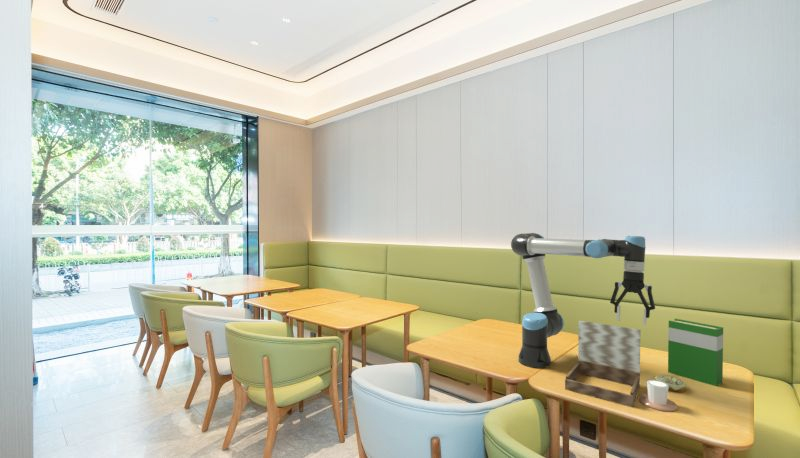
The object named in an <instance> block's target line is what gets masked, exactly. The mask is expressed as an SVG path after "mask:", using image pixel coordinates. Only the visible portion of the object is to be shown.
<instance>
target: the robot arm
mask: <svg viewBox="0 0 800 458" xmlns="http://www.w3.org/2000/svg"><path fill="white" fill-rule="evenodd" d="M510 247H511V249H512V252H513V253H514V254H515V255H518V256H522V261H524V262H525V263H526V266H527V272H528V275H529V281H530V286H531V290H532V294H533V295H532V296H533V300H534V304H535V305H534V306H535V307H534V309H533V312H529V313H525V314H524V315H523V316H522V322H521V326H522V327H521V328H522V330H521V333H522V334H521V336H522V339H521V344H522V346H521V348H520V349H519V350H520V351H519V353H518V362H519V363H520V364H521V365H524V366H527V367H530V368H537V369H539V368H540V369H543V368H548V367H550V366H551V365H552V359H551V355H550V353H549V350H548V349H549V348H548V338H550V337H552V336H556V335H558V334H559V333H560V332H561V331H562V330H563V328H564V325H565V321H564V318H563V316H562V315H561V314H560V313H559V312H558V311H559V310H558V308H557V306H555V305H554V303H553V299H552V295H551V289H550V284H549V281H548V280H549V279H548V276H547V271H546V267H545V262H544V259H545V257H546V255H556V256H568V257H569V256H571V257H572V256H573V257H587V258H593V259H602V258H606V257H619V258H620V257H622V258H623V259H624V260H623V261H624V263H623V270H624V271H623V276H622V277H623V278H622V279H623V280H622V281H621V282H619V281H616V282H614V289H613V292H612V295H611V299H610V301H609V303H610V304H612V305H613V306H614V313H615V314H616V322H620V321H621V305H620V303H621V302H622V301H623V300H624V298H625V296H627V293H633V294H637V296H639V299H640V300H641V303H642V305H643V306H644V308H645V309H643V317H642V318H643V319H642V322H643V323H642V326H643V327H646V326H647V319H649V318H650V315H651V311H652V310H653V311H654V310H656V304H655V301H654V295H653V292H652V290H653V286H652V285H647V284H645V283H644V281H645V280H644V279H645V273H644V271H645V264H646V263H645V257H646V248H647V247H646V238H645V236H639V235H626V236H625V238H624V239H607V238H599V239H597V240H596V239H574V238H573V239H572V238H570V239H569V238H568V239H567V238H545V237H544V236H543V235H541V234H539V233H536V232H528V233H519V234H515V236H514V237H513V238H512V239H511V241H510ZM621 286H622V287H623V291H622V292H621V294H620V295H619V297H618V298H617V296H618V292H619V291H620V287H621ZM644 288H645V290H646V293H647V297H648V300H649V303H648V302H647V299H646V298H645V296H644V294H643V291H642V290H643V289H644ZM616 299H617V300H616ZM649 304H650V305H649Z"/></svg>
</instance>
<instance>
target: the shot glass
mask: <svg viewBox="0 0 800 458" xmlns="http://www.w3.org/2000/svg"><path fill="white" fill-rule="evenodd" d="M646 386H647V388H646V389H647V394H648V399H649V401H650V402H652V403H654V404H657V405H666V404H667V399H668V396H669V395H668V393H669V390H668V388H669V386H668V384H666V383H664V382H661V381H657V380H655V379H649V380H647V381H646Z"/></svg>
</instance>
